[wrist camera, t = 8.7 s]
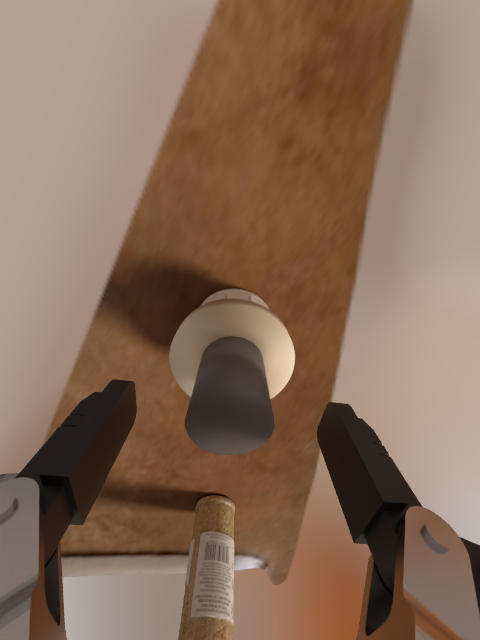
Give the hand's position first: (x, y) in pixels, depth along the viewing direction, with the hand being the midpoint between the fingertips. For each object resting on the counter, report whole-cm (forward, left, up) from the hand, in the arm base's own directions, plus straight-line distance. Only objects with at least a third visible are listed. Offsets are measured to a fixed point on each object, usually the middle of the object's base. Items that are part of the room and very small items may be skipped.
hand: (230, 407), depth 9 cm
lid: (0, 0, -4) cm, 4 cm away
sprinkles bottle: (-11, -20, -8) cm, 24 cm away
